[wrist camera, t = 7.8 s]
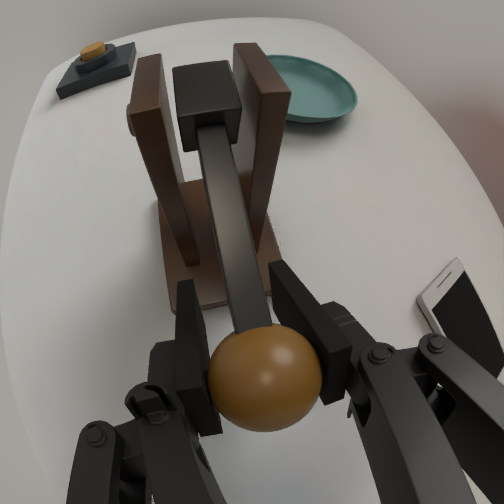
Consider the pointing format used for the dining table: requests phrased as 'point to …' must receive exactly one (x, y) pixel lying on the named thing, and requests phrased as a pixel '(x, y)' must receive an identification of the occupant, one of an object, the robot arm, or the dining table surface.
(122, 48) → the push button box
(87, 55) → the bell button
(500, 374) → the smartphone
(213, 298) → the latch bracket
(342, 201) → the dining table surface
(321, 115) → the saucer
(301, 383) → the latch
